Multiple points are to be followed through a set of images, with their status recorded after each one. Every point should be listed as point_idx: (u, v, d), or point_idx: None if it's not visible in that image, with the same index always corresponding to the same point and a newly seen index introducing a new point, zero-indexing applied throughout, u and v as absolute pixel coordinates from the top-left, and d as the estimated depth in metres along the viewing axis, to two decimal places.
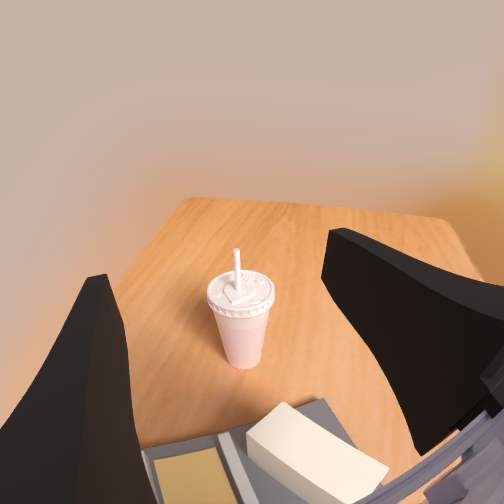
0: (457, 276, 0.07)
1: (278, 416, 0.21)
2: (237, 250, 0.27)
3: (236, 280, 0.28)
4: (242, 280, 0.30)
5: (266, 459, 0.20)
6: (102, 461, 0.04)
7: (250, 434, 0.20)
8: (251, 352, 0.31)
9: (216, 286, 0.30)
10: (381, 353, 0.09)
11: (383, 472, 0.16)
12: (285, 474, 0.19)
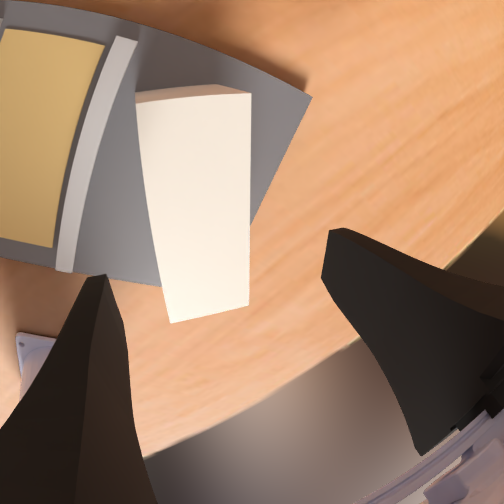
0: (457, 276, 0.07)
1: (216, 114, 0.10)
2: None
3: None
4: None
5: None
6: (102, 461, 0.04)
7: (139, 112, 0.09)
8: None
9: None
10: (381, 353, 0.09)
11: (238, 304, 0.16)
12: None
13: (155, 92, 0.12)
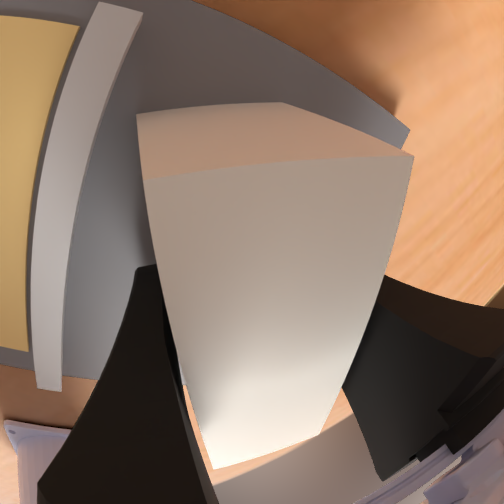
0: (421, 291, 0.07)
1: (346, 204, 0.04)
2: None
3: None
4: None
5: None
6: (193, 446, 0.04)
7: (157, 205, 0.03)
8: None
9: None
10: None
11: (306, 437, 0.10)
12: None
13: (179, 119, 0.06)
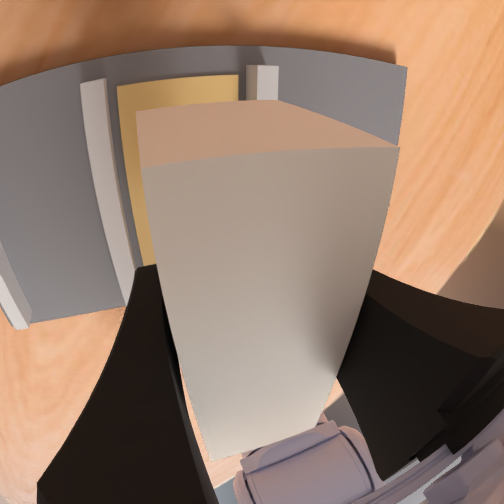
0: (421, 291, 0.07)
1: (333, 192, 0.05)
2: None
3: None
4: None
5: None
6: (193, 446, 0.04)
7: (153, 191, 0.04)
8: None
9: None
10: (340, 371, 0.08)
11: (302, 430, 0.10)
12: None
13: (177, 116, 0.06)
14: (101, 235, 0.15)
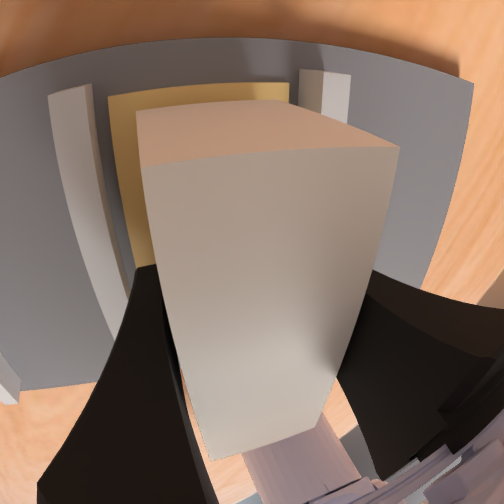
0: (422, 291, 0.07)
1: (333, 191, 0.05)
2: None
3: None
4: None
5: None
6: (193, 446, 0.04)
7: (153, 190, 0.04)
8: None
9: None
10: (340, 371, 0.08)
11: (302, 429, 0.10)
12: None
13: (176, 115, 0.06)
14: (97, 302, 0.11)
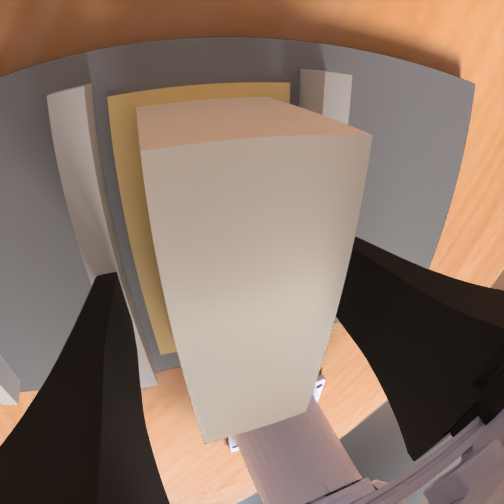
0: (450, 279, 0.07)
1: (310, 174, 0.05)
2: None
3: None
4: None
5: None
6: (119, 459, 0.04)
7: (151, 171, 0.04)
8: None
9: None
10: (373, 356, 0.09)
11: (293, 413, 0.11)
12: None
13: (173, 111, 0.07)
14: None
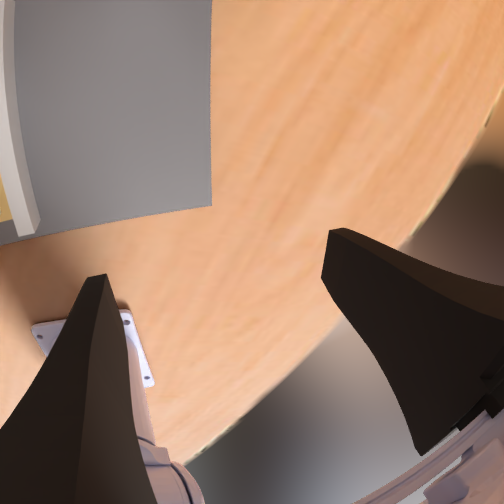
0: (456, 275, 0.07)
1: None
2: None
3: None
4: None
5: None
6: (102, 461, 0.04)
7: None
8: None
9: None
10: (381, 353, 0.09)
11: None
12: None
13: None
14: None
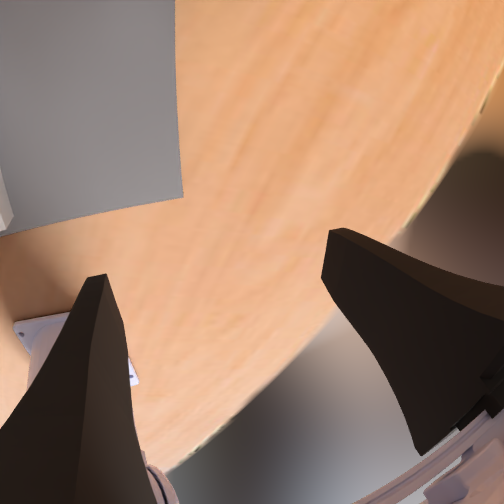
0: (456, 275, 0.07)
1: None
2: None
3: None
4: None
5: None
6: (102, 461, 0.04)
7: None
8: None
9: None
10: (381, 353, 0.09)
11: None
12: None
13: None
14: None
